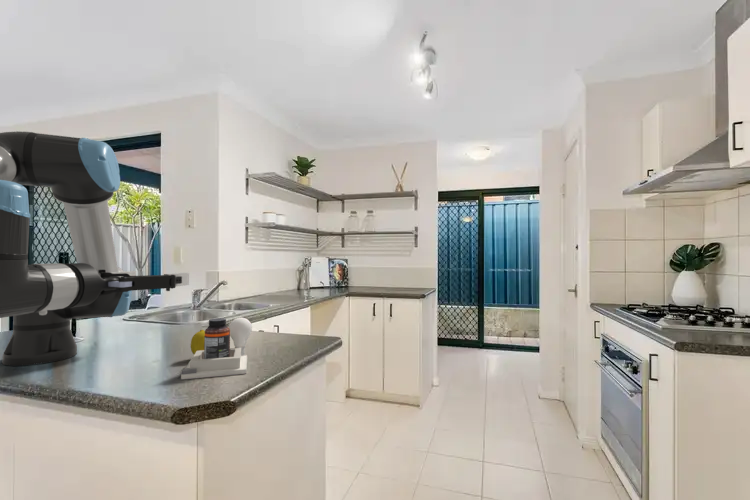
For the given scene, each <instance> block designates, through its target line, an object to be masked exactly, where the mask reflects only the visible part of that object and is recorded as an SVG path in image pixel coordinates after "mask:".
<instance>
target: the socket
mask: <svg viewBox="0 0 750 500" xmlns="http://www.w3.org/2000/svg"><path fill="white" fill-rule="evenodd" d="M204 351H205V350H200V351H196V353H195V354H193V356H192V357H191V359H190V361H189V362H188V364H187V365H186V367H184V368H182V370H181V374H180V380H190V379H191V380H192V379H201V378H203V379H204V378H211V377H212V378H213V377H223V376H234V375H244V374H245V375H246V374H247V368H248V367H247V366H248V354H244V355H242V356H241V348H235V347H233V348H231V347H230V357H224V358H211V359H204Z"/></svg>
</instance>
